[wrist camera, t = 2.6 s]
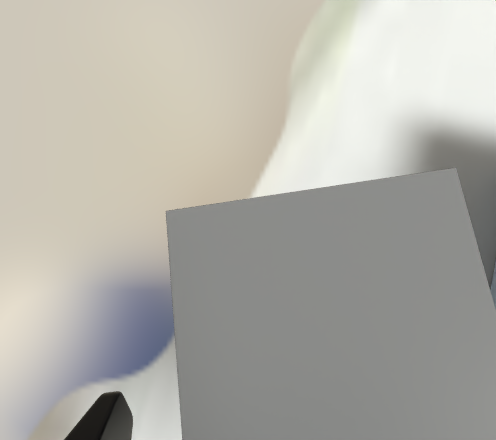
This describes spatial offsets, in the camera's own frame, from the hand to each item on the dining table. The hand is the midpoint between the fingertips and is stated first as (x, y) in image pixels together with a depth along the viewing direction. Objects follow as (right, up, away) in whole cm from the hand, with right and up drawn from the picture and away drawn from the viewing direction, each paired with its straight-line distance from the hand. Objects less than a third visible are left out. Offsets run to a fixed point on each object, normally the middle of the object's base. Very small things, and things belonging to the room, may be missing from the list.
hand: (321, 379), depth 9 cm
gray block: (+1, -1, +9) cm, 9 cm away
